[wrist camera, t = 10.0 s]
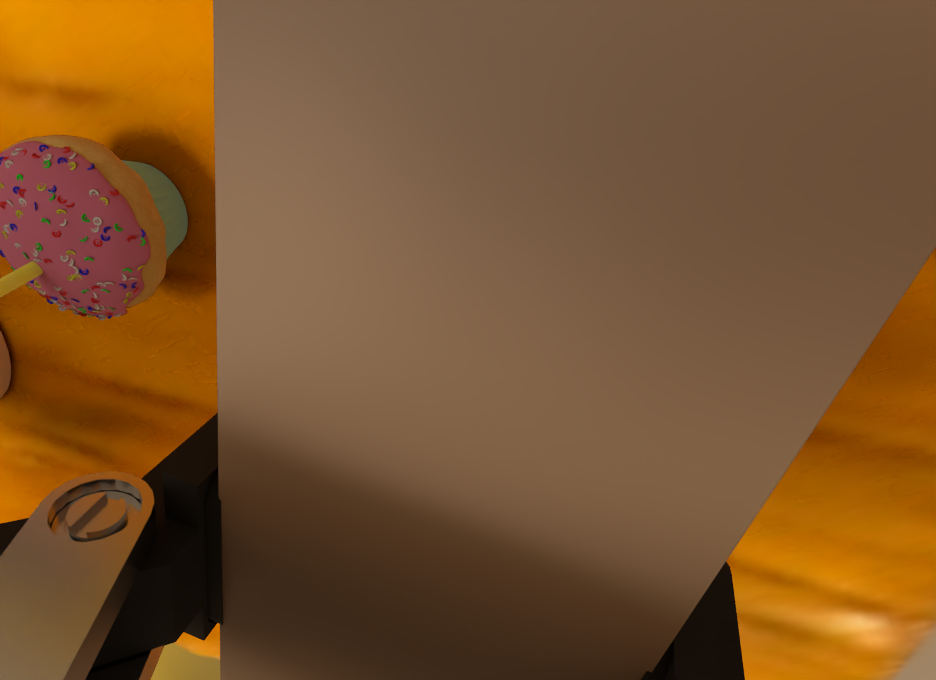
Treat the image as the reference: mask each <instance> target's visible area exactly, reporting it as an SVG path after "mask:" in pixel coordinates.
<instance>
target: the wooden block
mask: <svg viewBox="0 0 936 680" xmlns="http://www.w3.org/2000/svg"><path fill="white" fill-rule="evenodd" d="M213 14H214V107H215V200H216V293H217V386H218V479H219V499H220V500H221V527H222V587H223V625H222V624H220V663H221V664H220V665H221V680H641V679H642V678H643V676H644V674H645V673H646V671H649V672H651V673H652V671H653V670H654V668H655V667H656V665H657V664H658V662H659V661H660V659H661V658H662V656H663V655H664V653H665V652H666V650H667V649H668V647H669V646H670V644H671V643H672V641H673V640H674V638H675V637H676V635H677V634H678V632H679V631H680V629H681V628H682V626H683V625H684V623H685V622H686V620H687V619H688V617H689V616H690V614H691V613H692V611H693V610H694V608H695V607H696V605H697V604H698V602H699V601H700V599H701V598H702V596H703V595H704V593H705V592H706V590H707V589H708V587H709V586H710V584H711V583H712V581H713V580H714V578H715V577H716V575H717V574H718V572H719V571H720V569H721V568H722V566H723V565H724V563H725V562H726V560H727V559H728V557H729V556H730V554H731V553H732V551H733V550H734V548H735V547H736V545H737V544H738V542H739V541H740V539H741V538H742V536H743V535H744V533H745V532H746V530H747V529H748V527H749V526H750V524H751V523H752V521H753V520H754V518H755V517H756V515H757V514H758V512H759V511H760V509H761V508H762V506H763V505H764V503H765V502H766V500H767V499H768V497H769V496H770V494H771V493H772V491H773V490H774V488H775V487H776V485H777V484H778V482H779V481H780V479H781V478H782V476H783V475H784V473H785V472H786V470H787V469H788V467H789V466H790V464H791V463H792V461H793V460H794V458H795V457H796V455H797V454H798V452H799V451H800V449H801V448H802V446H803V445H804V443H805V442H806V440H807V439H808V437H809V436H810V434H811V433H812V431H813V430H814V428H815V427H816V425H817V424H818V422H819V421H820V419H821V418H822V416H823V415H824V413H825V412H826V410H827V409H828V407H829V406H830V404H831V403H832V401H833V400H834V398H835V397H836V395H837V394H838V392H839V391H840V389H841V388H842V386H843V385H844V383H845V382H846V380H847V379H848V377H849V376H850V374H851V373H852V371H853V370H854V368H855V367H856V365H857V364H858V362H859V361H860V359H861V358H862V356H863V355H864V353H865V352H866V350H867V349H868V347H869V346H870V344H871V343H872V341H873V340H874V338H875V337H876V335H877V334H878V332H879V331H880V329H881V328H882V326H883V325H884V323H885V322H886V320H887V319H888V317H889V316H890V314H891V313H892V311H893V310H894V308H895V307H896V305H897V304H898V302H899V301H900V299H901V298H902V296H903V295H904V294H905V292H906V291H907V289H908V288H909V286H910V285H911V283H912V282H913V280H914V279H915V277H916V276H917V274H918V273H919V271H920V270H921V268H922V267H923V265H924V264H925V262H926V261H927V259H928V258H929V256H930V255H931V253H932V252H933V250H934V249H935V247H936V0H213Z"/></svg>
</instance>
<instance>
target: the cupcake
mask: <svg viewBox="0 0 936 680" xmlns="http://www.w3.org/2000/svg"><path fill="white" fill-rule="evenodd" d="M187 228H188V215H187V210H186V206H185V203H184V201H183V199H182V196H181V195H180V193H179V191H178V189H177V188H176V187H175V185H174V184H173V183H172V181H171V180H170V179H169V178H168V177H167V176H166V175H165V174H163V173H162V172H161V171H159V170H158V169H156V168H154V167H153V166H150V165H148V164H145V163H141V162H133V161H124V160H120V159H119V158H118V157H117V156H116V155H115V154H114V153H113V152H112V151H111V150H110V149H108V148H107V147H105V146H104V145H102V144H100V143H97V142H95V141H92V140H90V139H86V138H82V137H76V136H68V135H52V136H43V137H32V138H28V139H25V140H22V141H20V142H18V143H15V144H13V145H12V146H10V147H8V148H7V149H5V150H4V151H3V152H1V153H0V255H1V256H2V257H5V258H6V259H7V261H8V262H9V264H10V265H11V266H12V267H11V268H12V269H13V270H14V271H13V272H11V273H9V274H7V275H6V276H4V277H2V278H0V298H1V297H2V296H4V295H6V294H8V293H9V292H11V291H13V290H15V289H16V288H18V287H20V286H22V285H24V284H25V283H26V285H27V287H29V286H30V287H29V288H30V289H32V288H33V289H34V290H36V291H37V292H39V294H40V295H41V296H43V297H45V298H46V299H47V301H48V302H49V303H50V304H53V303H56V304H58V305H59V310H60V311H65V310H67V308H68V309H70V310H72V311H73V313H74V314H76V315H81V316H88V317H93V316H97V317H99V320H104V319H106V317H107V316H108V319H110V318H111V317H112V316H116V317H118V316H120V315H124V314H126V313H127V310H126V308H129V307H132V306H134V305H136V304H138V303H140V302H142V301H144V300H146V299H147V298H149V297H150V296H151V295H153V293H154V292H155V291H156V289H157V287H158V286H159V284H160V283H161V282H162V280H163V278H164V276H165V273H166V260H167V258H168V257H169V256H170V254H171V253H172V252H173V251H174V250H175V249H176V248H177V247H178V246H179V245H180V244H181V242H182V241H183V240H184V238H185V235H186V233H187ZM50 301H51V302H50ZM61 307H62V309H61ZM63 308H65V309H63ZM76 312H77V313H76ZM78 312H79V313H78ZM81 313H82V314H81ZM84 313H85V315H84ZM87 314H88V315H87ZM90 314H91V315H92V316H89V315H90ZM104 316H105V317H104ZM103 317H104V318H103ZM101 318H103V319H101Z"/></svg>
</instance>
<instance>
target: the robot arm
mask: <svg viewBox="0 0 936 680" xmlns="http://www.w3.org/2000/svg"><path fill="white" fill-rule="evenodd" d="M10 379H11V362H10V356H9V351H8V348H7V345H6V342H5V340H4V337H3V334H2V332H1V330H0V398H1V397H2V396H3V395H4V393H5V392H6V391H7V389H8V386H9V383H10ZM217 623H219V624H222V625H223V587H222V527H221V500H220V499H219V479H218V413H217V414H216V415H215V416H213V417H212V418H211V419H210V420H209V421H208V422H207V423H205V424H204V425H203V426H202V427H201V428H200V429H198V430H197V431H196V432H195V433H194V434H193V435H191V436H190V437H189V438H188V439H187V440H186V441H185V442H183V443H182V444H181V445H180V446H179V447H178V448H176V449H175V450H174V451H173V452H172V453H171V454H169V455H168V456H167V457H166V458H165V459H164V460H163V461H161V462H160V463H159V464H158V465H157V466H156V467H154V468H153V469H152V470H151V471H150V472H149V473H147V474H146V475H145V476H144V477H143V478H142V479H140V478H138V477H137V476H135V475H131V474H127V473H122V472H99V473H94V474H88V475H84V476H81V477H79V478H76V479H74V480H71V481H68V482H66V483H65V484H63V485H62V486H60V487H58V488H57V489H55V490H53V491H52V492H51V493H50V494H49V495H48V496H47V497H46V498H45V499H44V500H43V501H42V502H41V503H40V504H39V506H38V507H37V508H36V510H35V511H34V512H33V514H32V515H31V516H30V518H27V519H22V520H17V521H12V522H7V523H2V524H0V680H151V677H152V675H153V672H154V670H155V667H156V665H157V662H158V660H159V657H160V655H161V653H162V650H163V648H164V645H167V644H170V643H174V642H176V641H177V639H178V638H179V637H180V636H181V634H182V633H183V632H185V633H188V634H190V635H192V636H195V637H197V638H199V639H201V640H205V639H206V637H207V636H208V635H209V633H210V632H211V631H212V629H213V628H214V627H215V625H216V624H217ZM641 680H745V677H744V669H743V661H742V653H741V645H740V637H739V629H738V621H737V613H736V605H735V597H734V589H733V581H732V574H731V570H730V566H729V565H728V564H727V562H725V563H724V565H723V566H722V568H721V569H720V571H719V572H718V574H717V575H716V577H715V578H714V580H713V581H712V583H711V584H710V586H709V587H708V589H707V590H706V592H705V593H704V595H703V596H702V598H701V599H700V601H699V602H698V604H697V605H696V607H695V608H694V610H693V611H692V613H691V614H690V616H689V617H688V619H687V620H686V622H685V623H684V625H683V626H682V628H681V629H680V631H679V632H678V634H677V635H676V637H675V638H674V640H673V641H672V643H671V644H670V646H669V647H668V649H667V650H666V652H665V653H664V655H663V656H662V658H661V659H660V661H659V662H658V664H657V665H656V667H655V668H654V670H653V671H652V673H651V672H649V671H646V673H645V674H644V676H643V678H642V679H641Z"/></svg>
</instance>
